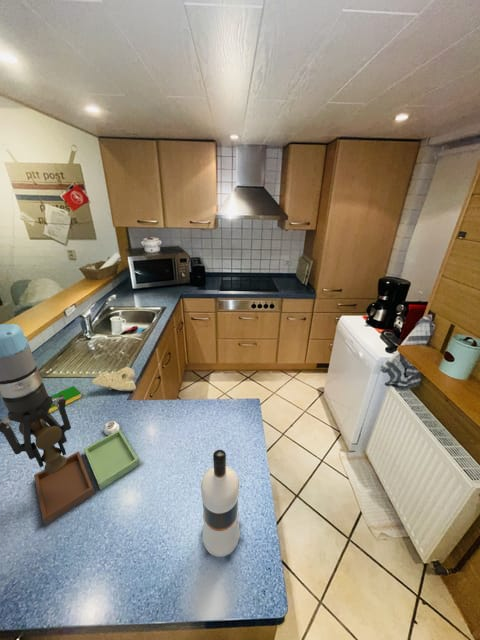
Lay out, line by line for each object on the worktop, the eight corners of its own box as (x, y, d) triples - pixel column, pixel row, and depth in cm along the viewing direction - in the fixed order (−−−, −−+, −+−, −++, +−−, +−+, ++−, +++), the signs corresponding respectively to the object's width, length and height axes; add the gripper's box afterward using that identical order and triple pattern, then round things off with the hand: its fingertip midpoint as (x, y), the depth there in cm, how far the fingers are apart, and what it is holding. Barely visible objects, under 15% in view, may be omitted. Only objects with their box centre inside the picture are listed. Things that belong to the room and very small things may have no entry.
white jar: (120, 423, 94) (106, 425, 93) (119, 417, 93) (104, 420, 92) (118, 434, 90) (102, 436, 89) (116, 428, 89) (101, 430, 88)
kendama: (59, 449, 74) (37, 397, 65) (77, 466, 69) (56, 411, 61) (35, 466, 69) (9, 411, 61) (53, 484, 65) (27, 428, 56)
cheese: (144, 384, 118) (123, 360, 119) (144, 381, 112) (122, 356, 112) (115, 408, 110) (92, 383, 111) (113, 407, 104) (90, 380, 104)
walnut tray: (36, 480, 74) (33, 474, 73) (80, 456, 82) (78, 451, 81) (45, 525, 64) (42, 519, 63) (95, 493, 71) (93, 487, 70)
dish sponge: (81, 397, 107) (80, 392, 106) (43, 416, 97) (41, 411, 96) (74, 389, 111) (73, 385, 110) (37, 407, 101) (35, 402, 100)
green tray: (85, 454, 83) (83, 448, 82) (121, 434, 90) (120, 429, 89) (100, 490, 72) (98, 484, 71) (139, 464, 80) (138, 459, 79)
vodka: (208, 566, 57) (203, 484, 45) (198, 523, 65) (191, 442, 53) (245, 548, 61) (249, 466, 48) (231, 509, 69) (232, 429, 56)
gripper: (-31, 417, 50) (12, 490, 60) (70, 380, 61) (92, 447, 71) (-30, 398, 55) (9, 468, 65) (63, 367, 66) (84, 431, 76)
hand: (52, 457), depth 68 cm, fingers closed on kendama, 4 cm apart
